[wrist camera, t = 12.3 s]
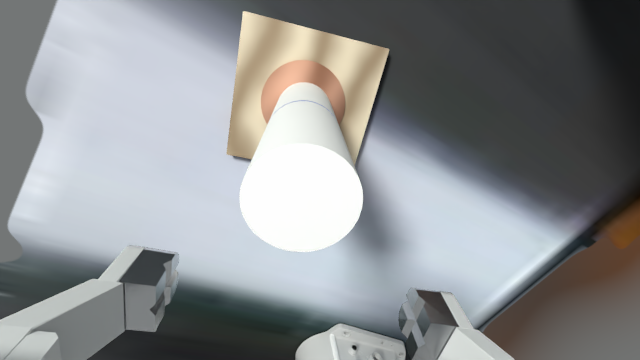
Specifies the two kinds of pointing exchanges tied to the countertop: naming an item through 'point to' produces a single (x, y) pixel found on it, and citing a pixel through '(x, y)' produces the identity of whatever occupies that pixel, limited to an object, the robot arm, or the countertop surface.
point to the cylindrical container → (301, 176)
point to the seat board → (300, 78)
